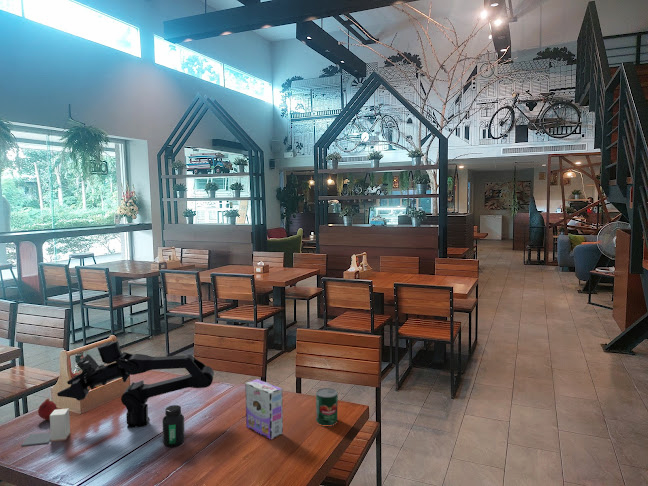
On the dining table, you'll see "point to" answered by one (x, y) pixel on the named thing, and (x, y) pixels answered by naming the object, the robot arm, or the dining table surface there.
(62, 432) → the block
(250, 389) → the candy box
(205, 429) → the dining table surface
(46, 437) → the mat
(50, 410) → the onion
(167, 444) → the supplement bottle
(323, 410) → the canned tomato
